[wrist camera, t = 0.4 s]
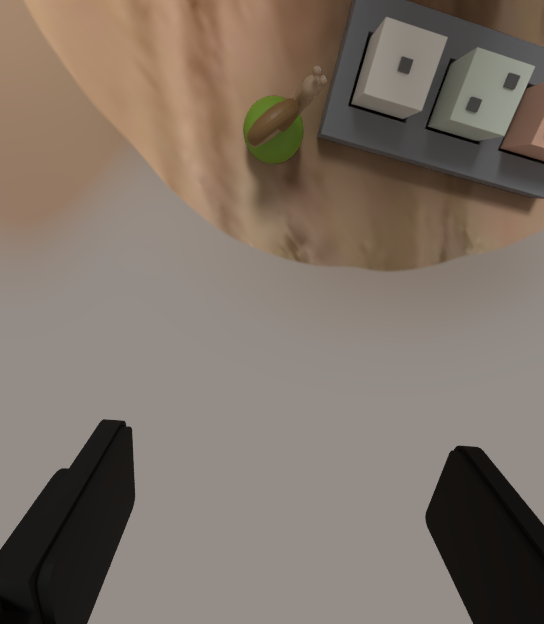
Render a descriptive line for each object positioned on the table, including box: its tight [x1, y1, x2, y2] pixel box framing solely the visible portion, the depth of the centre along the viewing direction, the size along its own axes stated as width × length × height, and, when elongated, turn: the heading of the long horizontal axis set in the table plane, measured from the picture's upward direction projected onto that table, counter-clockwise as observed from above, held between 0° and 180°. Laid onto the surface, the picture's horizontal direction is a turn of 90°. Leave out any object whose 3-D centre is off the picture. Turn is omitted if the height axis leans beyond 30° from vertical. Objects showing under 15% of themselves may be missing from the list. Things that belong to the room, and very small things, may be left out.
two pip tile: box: [428, 47, 535, 141], centre depth 29 cm, size 5×5×4 cm
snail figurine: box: [243, 65, 327, 164], centre depth 27 cm, size 5×6×12 cm
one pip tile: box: [351, 17, 448, 119], centre depth 28 cm, size 5×5×4 cm
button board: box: [317, 0, 544, 199], centre depth 31 cm, size 24×11×2 cm, turn 76°
